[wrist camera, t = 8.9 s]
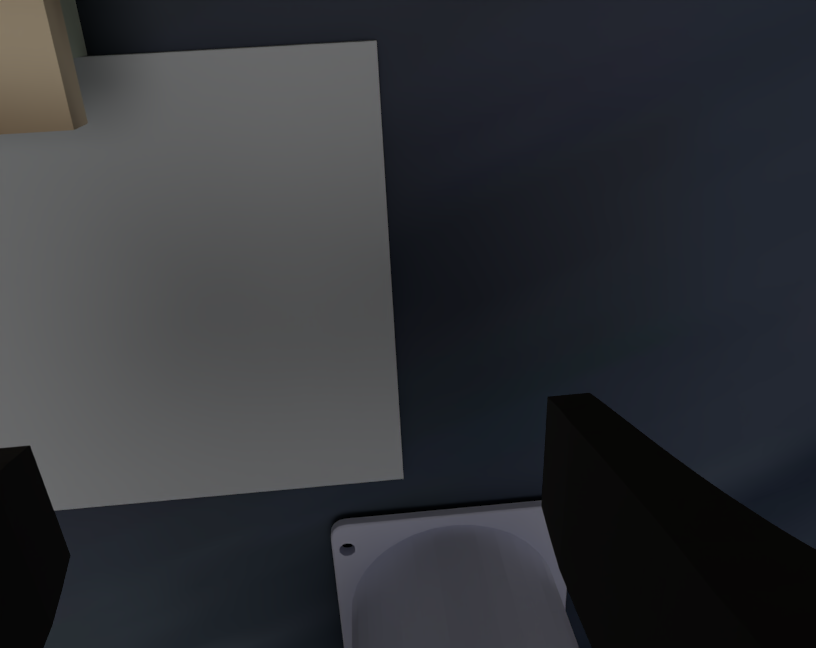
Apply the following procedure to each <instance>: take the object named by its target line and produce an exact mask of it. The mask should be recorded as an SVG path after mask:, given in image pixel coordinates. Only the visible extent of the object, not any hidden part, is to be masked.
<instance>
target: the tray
mask: <svg viewBox="0 0 816 648" xmlns="http://www.w3.org/2000/svg"><path fill="white" fill-rule="evenodd" d="M60 4H61V8H62V12H63V17H64V21H65V25H66V30H67V34H68V39H69V43H70V47H71V52H72V56H73V58H77V57H82V56H87V50H86V46H85V42H84V37H83V33H82V28H81V24H80V19H79V15H78V10H77V6H76V1H75V0H60Z"/></svg>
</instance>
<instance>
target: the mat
mask: <svg viewBox="0 0 816 648" xmlns="http://www.w3.org/2000/svg"><path fill="white" fill-rule="evenodd" d="M73 60H74V65H75V69H76V73H77V78H78V82H79V86H80V91H81V95H82V99H83V104H84V108H85V112H86V117H87V121H88V124H86V125H83V126H81V127H79V128H77V129H75V130H67V131H50V132H34V133H17V134H1V135H0V448H7V447H18V446H29V445H30V446H31V449H32V452H33V455H34V457H35V460H36V463H37V466H38V468H39V471H40V474H41V477H42V479H43V482H44V485H45V487H46V490H47V493H48V496H49V498H50V501H51V504H52V507H53V509H54V511H55V510H66V509H77V508H88V507H99V506H110V505H121V504H132V503H143V502H154V501H165V500H176V499H187V498H198V497H209V496H220V495H231V494H242V493H253V492H264V491H274V490H285V489H296V488H307V487H318V486H329V485H340V484H351V483H362V482H373V481H384V480H395V479H404V478H403V462H402V446H401V430H400V413H399V397H398V381H397V365H396V348H395V332H394V316H393V300H392V283H391V267H390V251H389V235H388V219H387V202H386V186H385V170H384V154H383V137H382V121H381V105H380V89H379V72H378V56H377V41H376V40H367V41H349V42H331V43H313V44H295V45H277V46H259V47H241V48H223V49H205V50H187V51H169V52H152V53H134V54H116V55H98V56H82V57H77V58H73Z"/></svg>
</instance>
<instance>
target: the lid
mask: <svg viewBox="0 0 816 648" xmlns="http://www.w3.org/2000/svg"><path fill="white" fill-rule="evenodd" d="M86 124H88V121H87V117H86V112H85V108H84V104H83V99H82V95H81V91H80V86H79V82H78V78H77V73H76V69H75V65H74V60H73V56H72V52H71V47H70V43H69V39H68V34H67V30H66V25H65V21H64V17H63V12H62V8H61V4H60V0H0V135H1V134H17V133H34V132H50V131H67V130H75V129H77V128H79V127H81V126H83V125H86Z"/></svg>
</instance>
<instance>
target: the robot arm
mask: <svg viewBox="0 0 816 648" xmlns="http://www.w3.org/2000/svg"><path fill="white" fill-rule="evenodd" d="M346 543H348V544H352V545H353V546H352V547H348V548H347V547H343V546H342V545H343V544H346ZM331 544H332V552H333V561H334V569H335V577H336V586H337V594H338V603H339V611H340V619H341V628H342V636H343V644H344V648H579V646H578V644H577V641H576V638H575V635H574V633H573V630H572V627H571V625H570V622H569V619H568V616H567V614H566V611H565V607H566V591H567V590H568V592H569V594H570V597H571V599H572V601H573V604H574V606H575V609H576V611H577V613H578V616H579V618H580V621H581V623H582V625H583V628H584V630H585V632H586V635H587V637H588V639H589V642H590V644H591V646H592V648H816V549H814V548H812V547H810V546H809V545H807V544H805V543H803V542H801V541H800V540H798V539H796V538H795V537H793V536H791V535H790V534H788V533H786V532H785V531H783V530H781V529H780V528H778V527H777V526H775V525H773V524H772V523H770V522H769V521H767V520H766V519H764V518H762V517H761V516H759V515H758V514H756V513H755V512H753V511H752V510H750V509H749V508H747V507H746V506H744V505H742V504H741V503H739V502H738V501H736V500H735V499H733V498H732V497H730V496H729V495H727V494H726V493H724V492H723V491H721V490H720V489H718V488H717V487H716V486H714V485H713V484H711V483H710V482H708V481H707V480H705V479H704V478H703V477H701V476H700V475H698V474H697V473H696V472H694V471H693V470H691V469H690V468H689V467H687V466H686V465H684V464H683V463H682V462H680V461H679V460H678V459H676V458H675V457H674V456H672V455H671V454H669V453H668V452H667V451H665V450H664V449H663V448H661V447H660V446H659V445H657V444H656V443H655V442H654V441H652V440H651V439H650V438H648V437H647V436H646V435H644V434H643V433H642V432H640V431H639V430H638V429H637V428H635V427H634V426H633V425H631V424H630V423H629V422H627V421H626V420H625V419H624V418H622V417H621V416H620V415H618V414H617V413H616V412H615V411H613V410H612V409H611V408H609V407H608V406H607V405H605V404H604V403H603V402H601V401H600V400H599V399H597V398H596V397H595V396H593V395H592V394H590V393H583V394H572V395H561V396H551V397H548V402H547V419H546V435H545V452H544V469H543V485H542V500H539V501H528V502H517V503H507V504H496V505H485V506H475V507H464V508H454V509H443V510H432V511H422V512H411V513H400V514H390V515H379V516H368V517H358V518H347V519H342V520H339V521H337V522H336V523H334V525H333V526H332V528H331ZM69 559H70V553H69V550H68V548H67V545H66V542H65V539H64V537H63V534H62V531H61V528H60V526H59V523H58V520H57V517H56V515H55V512H54V509H53V507H52V504H51V501H50V498H49V496H48V493H47V490H46V487H45V485H44V482H43V479H42V477H41V474H40V471H39V468H38V466H37V463H36V460H35V457H34V455H33V452H32V449H31V446H30V445H29V446H18V447H7V448H0V648H43V647H44V645H45V642H46V640H47V637H48V635H49V632H50V630H51V627H52V624H53V620H54V617H55V613H56V610H57V606H58V603H59V599H60V595H61V592H62V587H63V583H64V579H65V575H66V571H67V567H68V563H69Z"/></svg>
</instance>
